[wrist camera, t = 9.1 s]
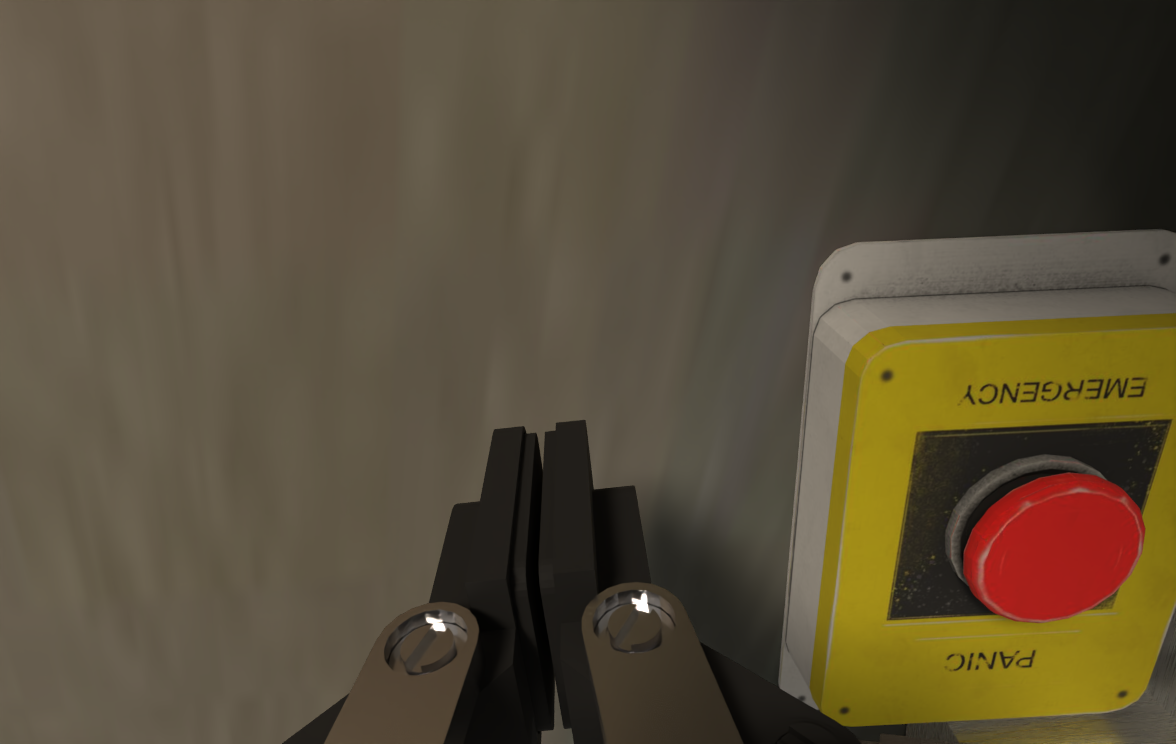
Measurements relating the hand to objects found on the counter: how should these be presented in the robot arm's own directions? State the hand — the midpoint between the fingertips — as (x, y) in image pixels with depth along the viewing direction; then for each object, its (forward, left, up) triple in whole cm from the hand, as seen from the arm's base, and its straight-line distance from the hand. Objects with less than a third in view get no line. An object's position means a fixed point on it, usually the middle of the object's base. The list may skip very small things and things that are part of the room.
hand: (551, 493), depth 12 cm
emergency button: (+5, +11, -6) cm, 13 cm away
